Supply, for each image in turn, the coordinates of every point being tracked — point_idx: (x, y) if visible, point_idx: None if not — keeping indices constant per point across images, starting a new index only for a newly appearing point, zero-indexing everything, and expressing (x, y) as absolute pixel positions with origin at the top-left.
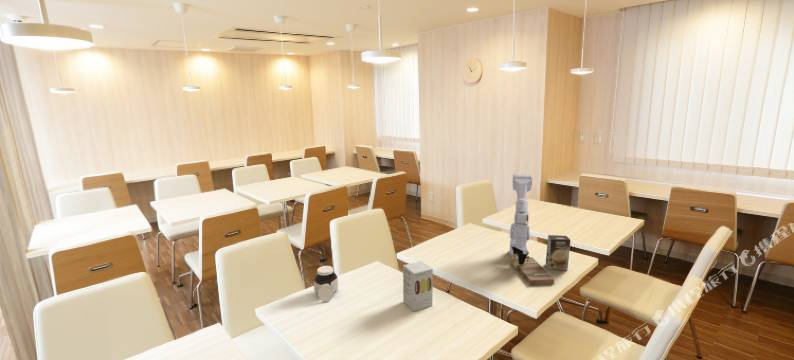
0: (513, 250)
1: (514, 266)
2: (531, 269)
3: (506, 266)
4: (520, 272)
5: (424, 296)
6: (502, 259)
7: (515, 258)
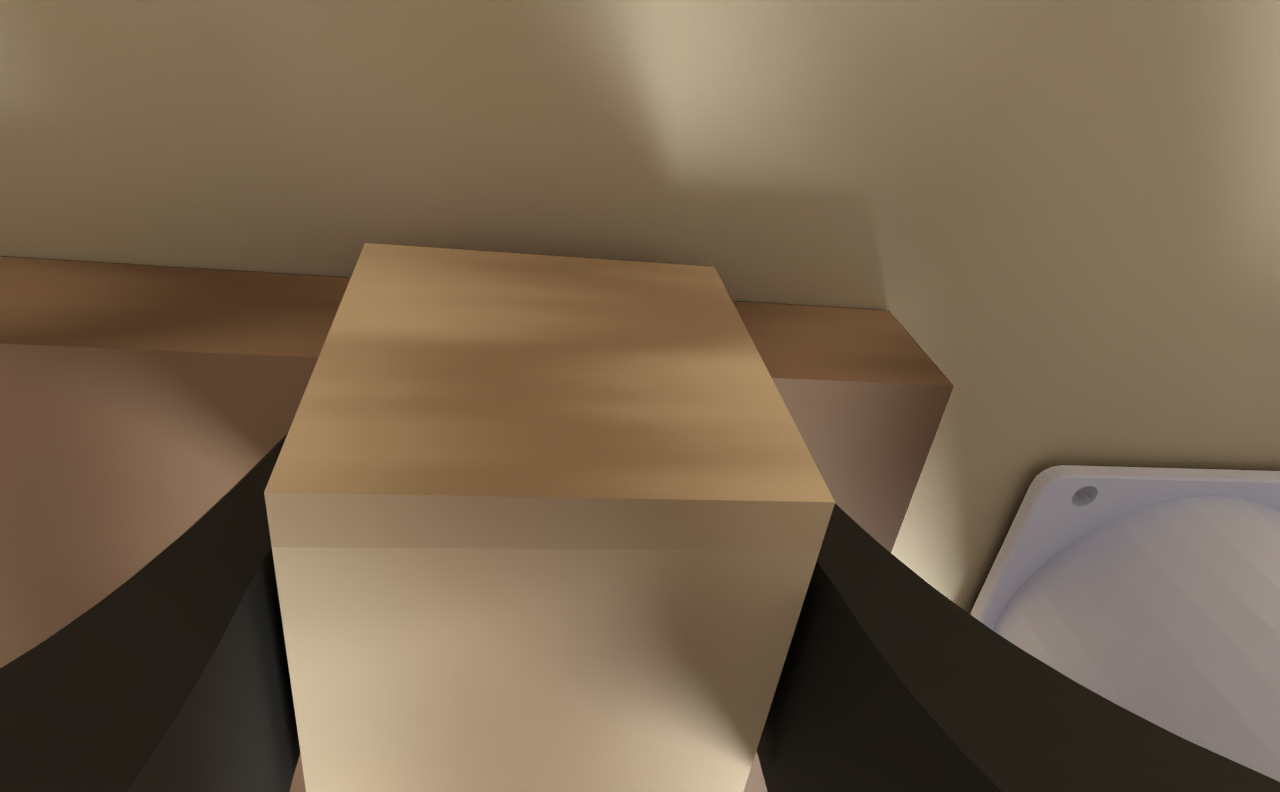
0: (918, 693)
1: (474, 257)
2: (18, 625)
3: (710, 44)
4: (93, 279)
5: None
6: (1195, 156)
7: (373, 451)
